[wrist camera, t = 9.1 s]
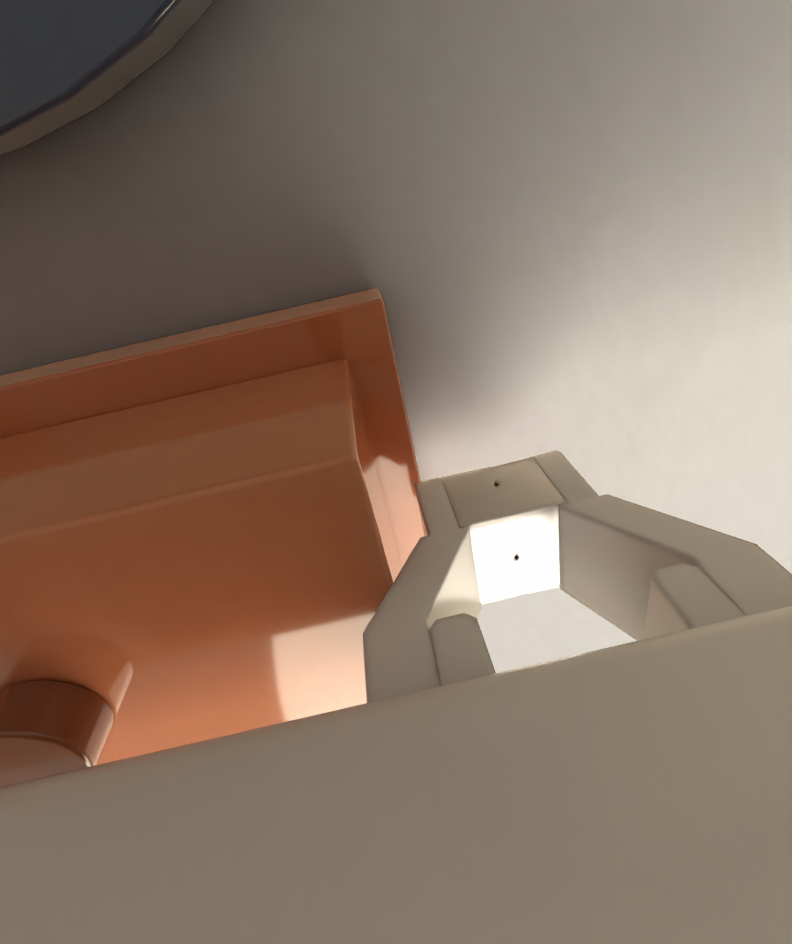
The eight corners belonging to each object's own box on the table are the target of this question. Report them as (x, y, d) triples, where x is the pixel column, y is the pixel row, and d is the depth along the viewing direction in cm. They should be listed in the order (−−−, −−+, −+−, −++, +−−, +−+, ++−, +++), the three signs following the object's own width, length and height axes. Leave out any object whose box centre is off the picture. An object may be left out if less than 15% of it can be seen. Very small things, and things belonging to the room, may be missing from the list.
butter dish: (377, 286, 9) (429, 401, 4) (438, 581, 13) (498, 802, 8) (-264, 436, 9) (-901, 709, 4) (0, 682, 13) (-181, 957, 8)
